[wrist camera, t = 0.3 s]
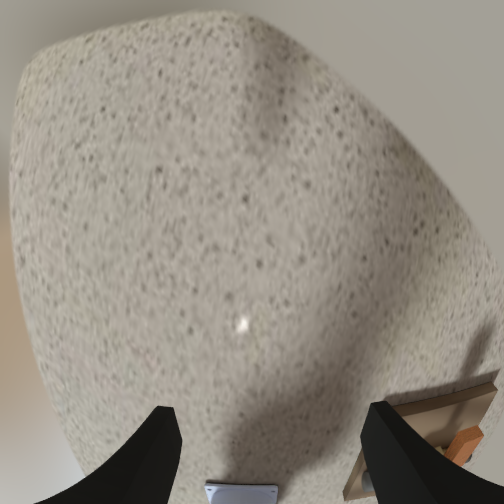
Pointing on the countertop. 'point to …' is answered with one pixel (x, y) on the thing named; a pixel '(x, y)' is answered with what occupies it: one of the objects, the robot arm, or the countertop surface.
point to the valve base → (430, 427)
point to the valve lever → (464, 445)
